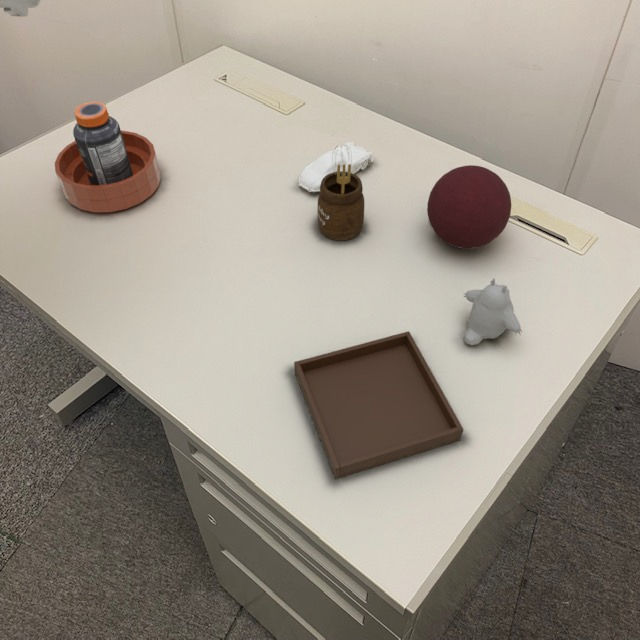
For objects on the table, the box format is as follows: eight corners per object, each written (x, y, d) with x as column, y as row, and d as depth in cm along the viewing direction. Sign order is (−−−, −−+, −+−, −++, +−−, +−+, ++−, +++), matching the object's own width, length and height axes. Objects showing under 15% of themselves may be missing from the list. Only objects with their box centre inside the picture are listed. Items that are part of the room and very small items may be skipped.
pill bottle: (91, 172, 91) (67, 99, 83) (133, 166, 92) (114, 93, 84) (90, 198, 88) (64, 124, 79) (134, 192, 88) (114, 118, 80)
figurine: (528, 340, 71) (546, 292, 65) (494, 368, 69) (509, 320, 63) (472, 300, 75) (485, 251, 69) (438, 325, 73) (448, 276, 67)
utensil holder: (360, 211, 86) (364, 132, 77) (365, 243, 82) (370, 163, 73) (316, 213, 86) (315, 134, 77) (319, 245, 82) (318, 165, 73)
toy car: (375, 163, 93) (376, 143, 90) (316, 201, 87) (315, 180, 85) (350, 150, 95) (351, 129, 93) (291, 186, 90) (290, 165, 87)
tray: (335, 479, 60) (335, 469, 59) (294, 373, 68) (293, 361, 67) (460, 440, 63) (463, 429, 61) (407, 342, 71) (409, 330, 70)
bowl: (68, 224, 85) (57, 196, 81) (62, 167, 93) (52, 140, 90) (168, 203, 88) (162, 175, 84) (153, 150, 96) (147, 123, 92)
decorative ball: (452, 203, 87) (464, 138, 79) (517, 236, 82) (536, 171, 75) (407, 239, 82) (414, 175, 75) (472, 277, 78) (488, 212, 70)
